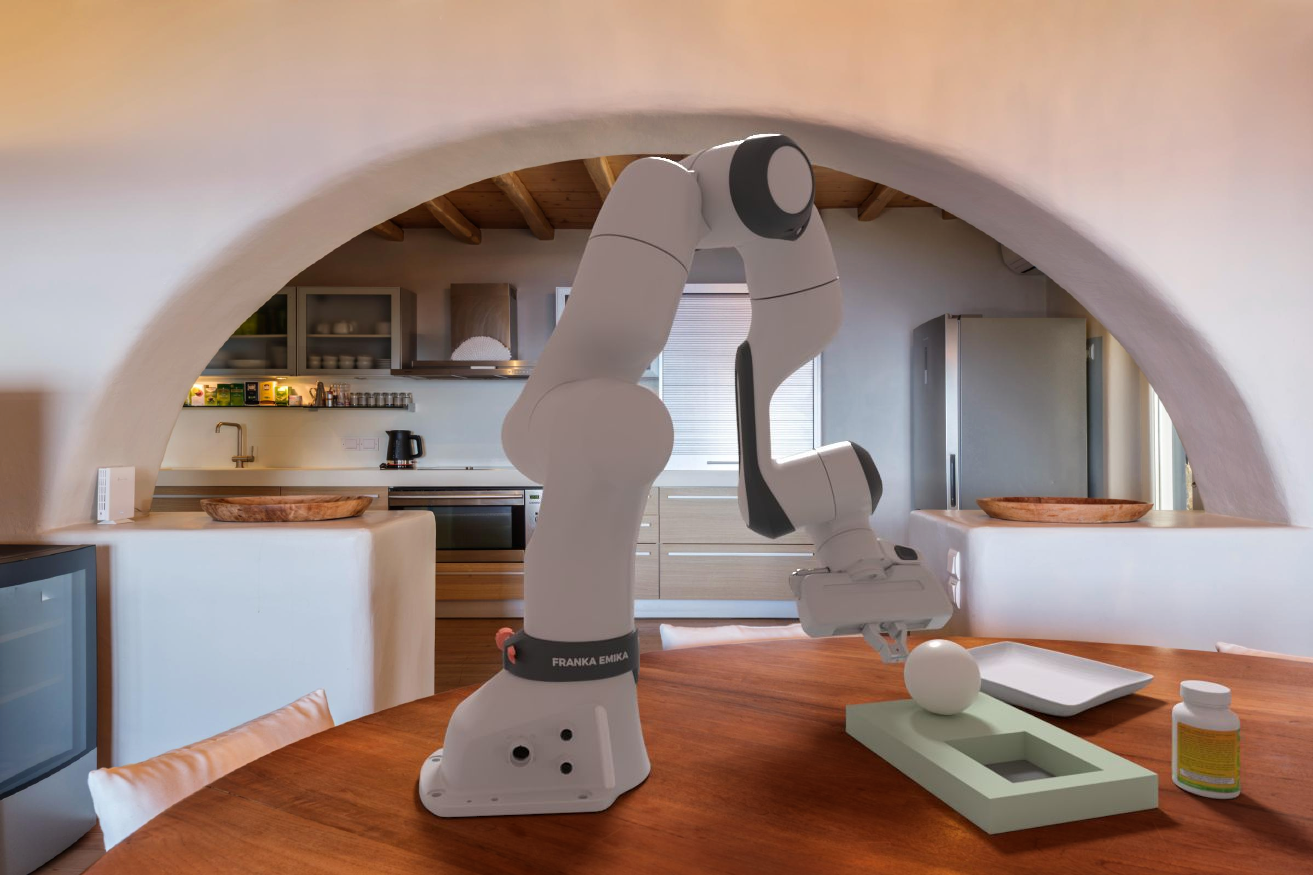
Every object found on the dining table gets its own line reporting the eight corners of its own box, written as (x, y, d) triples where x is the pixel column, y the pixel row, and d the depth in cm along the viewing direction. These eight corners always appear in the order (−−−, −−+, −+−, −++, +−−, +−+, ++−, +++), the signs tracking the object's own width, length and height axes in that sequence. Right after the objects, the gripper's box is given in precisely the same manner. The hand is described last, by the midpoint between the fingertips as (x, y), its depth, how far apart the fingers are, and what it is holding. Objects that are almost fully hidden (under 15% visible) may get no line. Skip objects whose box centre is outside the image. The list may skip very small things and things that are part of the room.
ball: (932, 729, 82) (932, 652, 82) (889, 704, 90) (889, 634, 90) (997, 721, 84) (997, 647, 84) (950, 698, 92) (950, 629, 92)
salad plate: (1158, 698, 102) (1158, 672, 102) (1072, 733, 90) (1072, 703, 90) (1006, 660, 120) (1006, 638, 120) (917, 685, 108) (917, 660, 108)
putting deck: (989, 834, 66) (989, 798, 66) (846, 731, 89) (846, 705, 89) (1158, 807, 71) (1158, 774, 71) (980, 716, 94) (980, 691, 94)
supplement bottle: (1252, 803, 72) (1252, 697, 72) (1187, 797, 73) (1187, 693, 73) (1222, 778, 77) (1223, 679, 77) (1162, 773, 78) (1162, 676, 78)
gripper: (791, 555, 100) (829, 652, 90) (931, 549, 105) (980, 640, 96) (777, 584, 104) (811, 680, 95) (912, 577, 110) (957, 667, 100)
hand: (897, 660), depth 95 cm, fingers closed
